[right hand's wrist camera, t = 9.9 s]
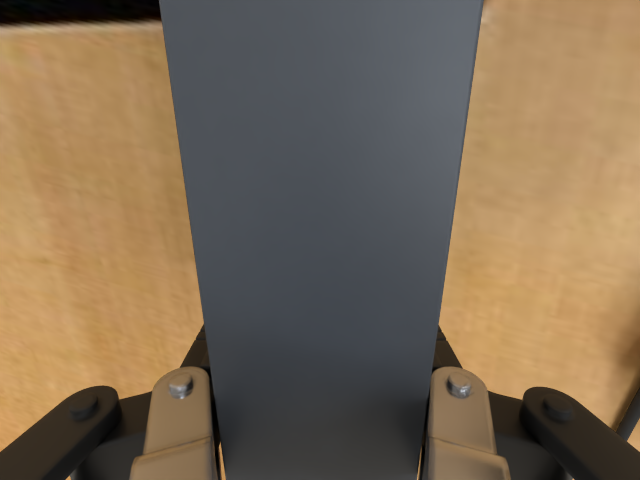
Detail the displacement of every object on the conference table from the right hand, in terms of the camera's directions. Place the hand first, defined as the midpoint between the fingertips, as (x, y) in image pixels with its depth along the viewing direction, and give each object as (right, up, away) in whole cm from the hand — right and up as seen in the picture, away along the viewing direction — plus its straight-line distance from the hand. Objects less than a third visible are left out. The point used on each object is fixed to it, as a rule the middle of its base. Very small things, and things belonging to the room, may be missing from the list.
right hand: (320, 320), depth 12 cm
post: (0, +26, -6) cm, 26 cm away
